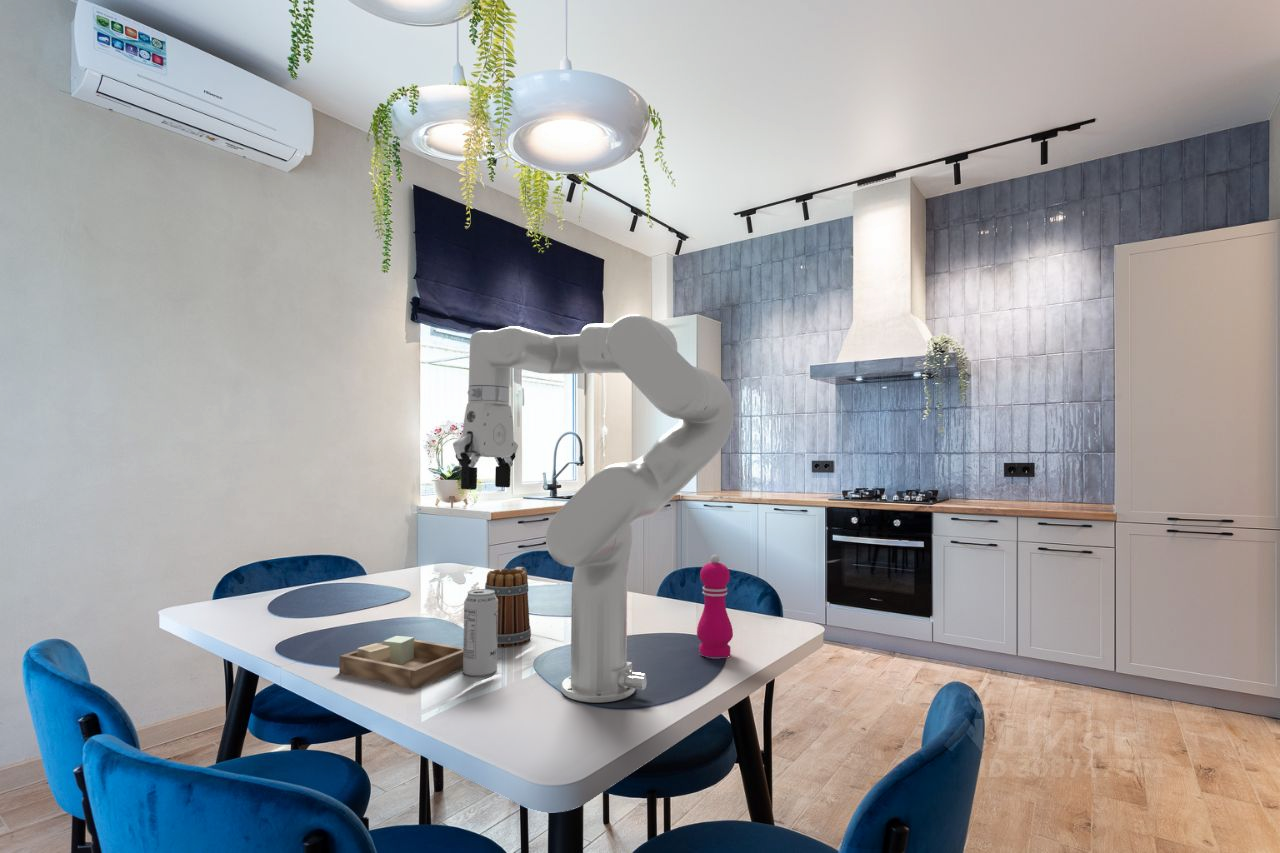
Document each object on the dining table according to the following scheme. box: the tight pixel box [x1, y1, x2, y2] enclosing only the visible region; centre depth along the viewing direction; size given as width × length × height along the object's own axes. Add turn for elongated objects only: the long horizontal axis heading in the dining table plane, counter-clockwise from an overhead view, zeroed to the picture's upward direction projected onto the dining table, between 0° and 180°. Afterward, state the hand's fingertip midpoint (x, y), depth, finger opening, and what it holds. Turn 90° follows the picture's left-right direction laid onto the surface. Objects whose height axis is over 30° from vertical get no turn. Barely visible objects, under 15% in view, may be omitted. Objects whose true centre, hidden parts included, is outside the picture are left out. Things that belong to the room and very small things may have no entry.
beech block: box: [356, 642, 390, 663], centre depth 121 cm, size 4×4×4 cm
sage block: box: [382, 635, 415, 665], centre depth 126 cm, size 4×4×4 cm
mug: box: [484, 566, 532, 648], centre depth 143 cm, size 16×11×15 cm
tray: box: [338, 638, 463, 690], centre depth 121 cm, size 18×14×4 cm
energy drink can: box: [462, 588, 498, 680], centre depth 121 cm, size 6×6×15 cm
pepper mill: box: [696, 554, 734, 658], centre depth 134 cm, size 7×7×20 cm
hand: (486, 488), depth 124 cm, fingers open, 9 cm apart
